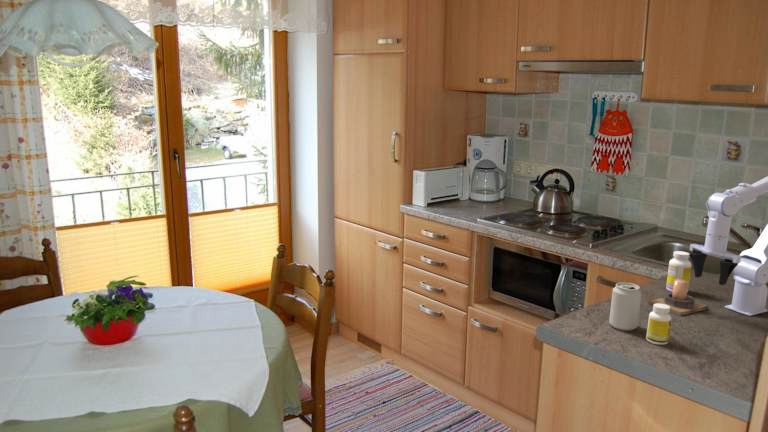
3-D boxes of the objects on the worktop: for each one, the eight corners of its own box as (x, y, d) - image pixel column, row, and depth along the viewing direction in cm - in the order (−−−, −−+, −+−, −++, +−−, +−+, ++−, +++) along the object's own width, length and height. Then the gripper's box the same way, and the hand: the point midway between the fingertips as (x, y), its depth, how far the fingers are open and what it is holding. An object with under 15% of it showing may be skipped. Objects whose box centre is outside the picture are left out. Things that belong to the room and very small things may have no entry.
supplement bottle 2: (688, 289, 211) (693, 251, 208) (688, 295, 205) (693, 256, 202) (665, 286, 214) (670, 249, 211) (665, 292, 208) (670, 253, 205)
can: (634, 334, 172) (639, 291, 170) (605, 327, 176) (610, 286, 173) (639, 325, 178) (645, 284, 176) (612, 319, 182) (616, 279, 180)
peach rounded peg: (676, 300, 197) (679, 278, 196) (688, 304, 194) (691, 282, 192) (668, 302, 195) (671, 280, 194) (680, 306, 192) (683, 284, 190)
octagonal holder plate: (676, 297, 203) (677, 288, 202) (708, 309, 193) (709, 299, 193) (648, 303, 196) (649, 294, 196) (680, 315, 187) (681, 305, 186)
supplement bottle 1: (670, 346, 165) (675, 310, 163) (648, 344, 166) (652, 308, 164) (665, 338, 170) (670, 303, 168) (644, 336, 171) (648, 301, 169)
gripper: (685, 230, 188) (679, 274, 191) (733, 242, 176) (725, 289, 178) (701, 228, 191) (694, 272, 194) (748, 240, 179) (740, 286, 182)
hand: (710, 280), depth 187 cm, fingers open, 7 cm apart
